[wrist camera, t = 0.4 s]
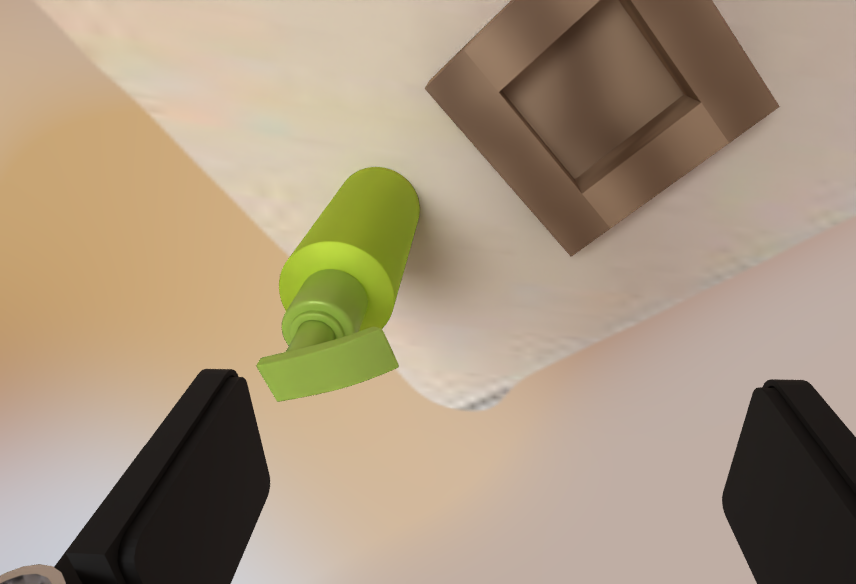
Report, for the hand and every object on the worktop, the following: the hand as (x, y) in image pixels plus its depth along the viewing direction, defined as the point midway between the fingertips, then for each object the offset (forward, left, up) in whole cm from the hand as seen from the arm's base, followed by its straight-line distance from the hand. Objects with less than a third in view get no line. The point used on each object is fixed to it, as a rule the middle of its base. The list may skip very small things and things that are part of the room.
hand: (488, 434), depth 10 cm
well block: (-6, +3, -29) cm, 30 cm away
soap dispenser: (+9, 0, -29) cm, 30 cm away
